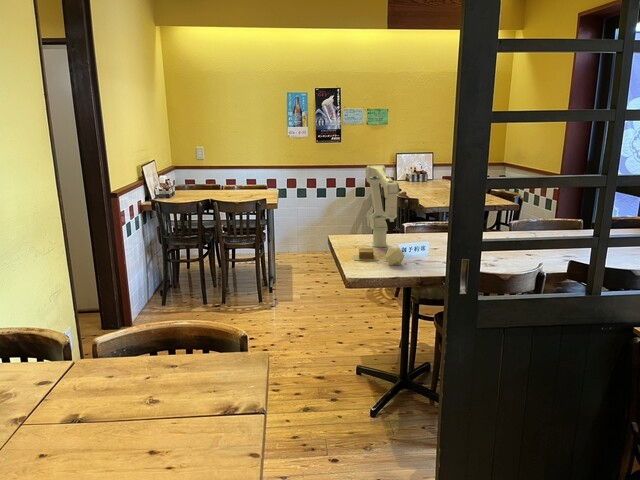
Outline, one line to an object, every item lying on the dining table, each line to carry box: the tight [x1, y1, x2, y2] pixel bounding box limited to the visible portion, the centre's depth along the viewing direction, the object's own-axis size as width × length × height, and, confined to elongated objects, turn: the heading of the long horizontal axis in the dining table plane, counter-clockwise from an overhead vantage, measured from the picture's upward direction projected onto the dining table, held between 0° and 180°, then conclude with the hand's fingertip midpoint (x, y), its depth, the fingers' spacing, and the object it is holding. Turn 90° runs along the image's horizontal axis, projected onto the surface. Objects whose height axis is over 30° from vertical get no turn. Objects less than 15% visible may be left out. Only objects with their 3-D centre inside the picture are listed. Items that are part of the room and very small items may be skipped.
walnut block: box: [358, 247, 375, 259], centre depth 232 cm, size 4×7×8 cm
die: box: [384, 247, 405, 266], centre depth 220 cm, size 8×9×10 cm
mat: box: [353, 254, 380, 262], centre depth 231 cm, size 9×12×1 cm
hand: (390, 233), depth 238 cm, fingers closed
